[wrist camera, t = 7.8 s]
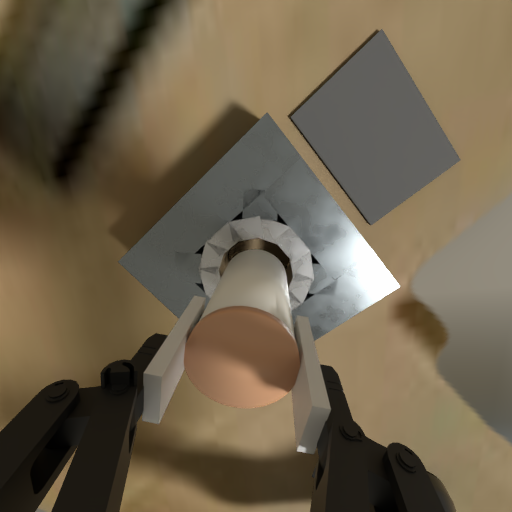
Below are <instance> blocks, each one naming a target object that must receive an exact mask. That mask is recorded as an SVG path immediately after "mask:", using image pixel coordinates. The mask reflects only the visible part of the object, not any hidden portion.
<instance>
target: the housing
mask: <svg viewBox="0 0 512 512" xmlns="http://www.w3.org/2000/svg"><path fill="white" fill-rule="evenodd" d="M241 211H243V212H242V213H240V212H241ZM254 238H260V239H263V240H266V241H269V242H272V243H275V244H277V245H278V246H279V247H280V248H281V249H282V250H283V251H284V253H285V254H286V255H287V256H288V257H289V259H290V261H289V263H288V265H287V268H286V270H285V271H286V276H287V284H288V291H289V298H290V306H291V313H292V320H293V327H294V324H295V320H296V317H297V315H299V316H304V317H308V319H309V323H310V327H311V331H312V335H313V339H314V341H315V340H317V339H318V338H320V337H321V336H323V335H325V334H326V333H328V332H329V331H331V330H332V329H334V328H336V327H337V326H339V325H340V324H342V323H344V322H345V321H347V320H348V319H350V318H351V317H353V316H355V315H356V314H358V313H359V312H361V311H363V310H364V309H366V308H367V307H369V306H370V305H372V304H374V303H375V302H377V301H378V300H380V299H382V298H383V297H385V296H386V295H388V294H390V293H391V292H393V291H394V290H396V289H397V288H399V287H400V285H399V284H398V283H397V282H396V280H395V279H394V278H393V276H392V275H391V274H390V272H389V271H388V270H387V268H386V267H385V266H384V265H383V263H382V262H381V261H380V259H379V258H378V257H377V255H376V254H375V253H374V251H373V250H372V249H371V247H370V246H369V245H368V244H367V242H366V241H365V240H364V238H363V237H362V236H361V234H360V233H359V232H358V230H357V229H356V228H355V227H354V225H353V224H352V223H351V221H350V220H349V219H348V217H347V216H346V215H345V213H344V212H343V211H342V210H341V208H340V207H339V206H338V204H337V203H336V202H335V200H334V199H333V198H332V196H331V195H330V194H329V192H328V191H327V190H326V189H325V187H324V186H323V185H322V183H321V182H320V181H319V179H318V178H317V177H316V175H315V174H314V173H313V172H312V170H311V169H310V168H309V166H308V165H307V164H306V162H305V161H304V160H303V158H302V157H301V156H300V155H299V153H298V152H297V151H296V149H295V148H294V147H293V145H292V144H291V143H290V141H289V140H288V139H287V138H286V136H285V135H284V134H283V132H282V131H281V130H280V128H279V127H278V126H277V124H276V123H275V122H274V120H273V119H272V118H271V117H270V115H269V114H268V113H266V114H265V115H264V116H263V117H262V118H261V119H260V120H259V121H258V122H257V123H256V124H255V125H254V126H253V127H252V128H251V129H250V130H249V131H248V132H247V133H246V134H245V135H244V136H243V137H242V138H241V139H240V140H239V141H238V142H237V143H236V144H235V145H234V146H233V147H232V148H231V149H230V150H229V151H228V152H227V153H226V154H225V155H224V156H223V157H222V158H221V159H220V160H219V161H218V162H217V163H216V164H215V165H214V166H213V167H212V168H211V169H210V170H209V171H208V172H207V173H206V174H205V175H204V176H203V177H202V178H201V179H200V180H199V181H198V182H197V183H196V184H195V185H194V186H193V187H192V188H191V189H190V190H189V191H188V192H187V193H186V194H185V195H184V196H183V197H182V198H181V199H180V200H179V201H178V202H177V203H176V204H175V205H174V206H173V207H172V208H171V209H170V210H169V211H168V212H167V213H166V214H165V215H164V216H163V217H162V218H161V219H160V220H159V221H158V222H157V223H156V224H155V225H154V226H153V227H152V228H151V229H150V230H149V231H148V232H147V233H146V234H145V235H144V236H143V237H142V238H141V239H140V240H139V241H138V242H137V243H136V244H135V245H134V246H133V247H132V248H131V249H130V250H129V251H128V252H127V253H126V254H125V255H124V256H123V257H122V258H121V259H120V260H119V261H118V262H119V263H120V264H121V265H122V266H123V267H124V268H125V269H126V270H127V271H128V272H129V273H130V274H131V275H133V276H134V277H135V278H136V279H137V280H138V281H139V282H140V283H141V284H142V285H143V286H144V287H145V288H147V289H148V290H149V291H150V292H151V293H152V294H153V295H154V296H155V297H156V298H157V299H158V300H159V301H161V302H162V303H163V304H164V305H165V306H166V307H167V308H168V309H169V310H170V311H171V312H172V313H173V314H174V315H176V316H177V317H178V318H180V317H181V315H182V314H183V312H184V311H185V309H186V308H187V306H188V305H189V303H190V302H191V300H192V299H193V297H194V296H199V297H205V298H206V299H205V308H204V310H205V309H206V307H207V305H208V303H209V301H210V299H211V297H212V295H213V293H214V291H215V289H216V287H217V285H218V283H219V281H220V279H221V277H222V275H223V273H224V271H225V269H226V267H227V265H228V263H229V258H228V252H229V249H230V248H231V247H232V246H233V245H235V244H236V243H237V242H238V241H243V240H249V239H254Z"/></svg>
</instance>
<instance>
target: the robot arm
mask: <svg viewBox="0 0 512 512" xmlns="http://www.w3.org/2000/svg"><path fill="white" fill-rule="evenodd" d="M205 299H206V298H205V297H199V296H194V297H193V299H192V300H191V302H190V303H189V305H188V306H187V308H186V309H185V311H184V312H183V314H182V315H181V317H180V318H179V320H178V321H177V323H176V324H175V326H174V327H173V329H172V330H171V332H170V334H169V335H168V336H167V335H162V334H157V333H156V334H154V335H153V336H151V337H149V338H148V339H147V340H146V341H145V343H144V344H143V345H142V347H141V348H140V349H139V350H138V352H137V353H136V354H135V356H134V357H133V358H132V359H131V360H119V361H115V362H113V363H110V364H109V365H108V366H106V367H105V368H104V369H103V370H102V372H101V386H98V387H90V388H79V385H78V383H77V382H76V381H73V380H61V381H57V382H54V383H52V384H50V385H48V386H46V387H45V388H44V389H43V390H41V391H40V392H39V393H38V394H37V395H36V396H35V397H34V398H33V399H32V400H31V401H30V402H29V403H28V404H27V405H26V406H25V407H24V408H23V409H22V410H21V411H20V412H19V413H18V414H17V415H16V417H15V418H14V419H13V420H12V421H11V422H10V423H9V424H8V425H7V426H6V427H5V428H4V429H3V430H2V431H1V432H0V512H35V511H36V510H37V508H38V506H39V505H40V503H41V502H42V500H43V499H44V497H45V496H46V494H47V493H48V491H49V490H50V488H51V486H52V485H53V483H54V482H55V480H56V479H57V477H58V476H59V474H60V473H61V471H62V470H63V468H64V466H65V465H66V463H67V462H68V460H69V459H70V457H71V456H72V454H73V453H74V451H75V449H76V448H77V446H78V448H77V450H76V453H75V455H74V457H73V460H72V462H71V465H70V467H69V470H68V472H67V475H66V477H65V480H64V482H63V485H62V487H61V489H60V492H59V494H58V497H57V499H56V502H55V504H54V507H53V509H52V512H119V511H120V506H121V501H122V496H123V492H124V487H125V482H126V478H127V473H128V468H129V463H130V459H131V454H132V449H133V445H134V440H135V435H136V430H137V421H138V420H139V418H140V416H141V414H142V421H146V422H151V423H156V424H159V423H160V421H161V419H162V417H163V415H164V412H165V410H166V408H167V406H168V404H169V402H170V399H171V397H172V395H173V393H174V391H175V388H176V386H177V384H178V382H179V380H180V378H181V375H182V373H183V371H184V369H185V367H184V352H185V344H186V342H187V340H188V338H189V336H190V334H191V332H192V330H193V328H194V327H195V325H196V324H197V323H198V322H199V320H200V318H201V316H202V314H203V312H204V308H205ZM294 335H295V339H296V342H297V345H298V351H299V357H300V369H299V372H298V376H297V379H296V382H295V385H294V386H293V388H292V389H291V390H292V401H293V413H294V425H295V436H296V448H297V451H299V452H304V453H309V454H314V453H315V450H316V448H318V454H319V459H318V462H317V464H316V467H315V469H314V472H313V475H312V477H313V478H315V479H314V487H313V494H312V501H311V509H310V512H456V509H455V506H454V504H453V501H452V499H451V497H450V496H449V494H448V492H447V490H446V488H445V487H444V485H443V483H442V482H441V481H440V480H439V479H438V478H436V477H435V476H433V475H432V474H430V473H427V471H426V469H425V467H424V465H423V463H422V462H421V460H420V459H419V457H418V456H417V455H416V454H415V453H414V452H413V451H412V450H410V449H409V448H408V447H406V446H405V445H402V444H400V443H391V444H389V445H388V447H387V448H386V447H384V446H382V445H380V444H378V443H376V442H374V441H372V440H371V439H369V438H367V437H366V436H365V434H364V432H363V431H362V429H361V427H360V426H359V425H358V424H357V423H356V422H354V421H353V419H352V416H351V413H350V410H349V407H348V403H347V400H346V397H345V394H344V392H343V388H342V385H341V382H340V379H339V376H338V374H337V373H336V371H335V370H334V369H333V367H331V366H326V365H321V364H320V363H319V359H318V355H317V351H316V347H315V343H314V339H313V335H312V331H311V327H310V323H309V319H308V317H304V316H299V315H297V317H296V320H295V324H294Z"/></svg>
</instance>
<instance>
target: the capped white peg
mask: <svg viewBox="0 0 512 512" xmlns="http://www.w3.org/2000/svg"><path fill="white" fill-rule="evenodd" d="M184 367H185V370H186V373H187V375H188V377H189V379H190V380H191V382H192V383H193V384H194V386H195V387H196V388H197V389H198V390H199V391H200V392H202V393H203V394H204V395H206V396H207V397H208V398H210V399H212V400H214V401H216V402H218V403H221V404H223V405H227V406H231V407H236V408H257V407H262V406H266V405H269V404H271V403H274V402H276V401H278V400H279V399H281V398H282V397H284V396H285V395H286V394H287V393H288V392H289V391H290V390H291V389H292V388H293V386H294V385H295V382H296V379H297V376H298V372H299V369H300V357H299V351H298V345H297V342H296V339H295V335H294V327H293V320H292V313H291V306H290V298H289V291H288V284H287V276H286V271H285V268H284V266H283V264H282V263H281V261H280V260H279V259H278V258H277V257H276V256H274V255H273V254H271V253H269V252H267V251H264V250H259V249H251V250H246V251H243V252H241V253H239V254H237V255H236V256H234V257H233V258H232V259H231V261H230V262H229V263H228V265H227V267H226V269H225V271H224V273H223V275H222V277H221V279H220V281H219V283H218V285H217V287H216V289H215V291H214V293H213V295H212V297H211V299H210V301H209V303H208V305H207V307H206V309H205V310H204V312H203V314H202V316H201V318H200V320H199V322H198V323H197V324H196V325H195V327H194V328H193V330H192V332H191V334H190V336H189V338H188V340H187V342H186V344H185V352H184Z"/></svg>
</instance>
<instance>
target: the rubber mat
mask: <svg viewBox="0 0 512 512" xmlns="http://www.w3.org/2000/svg"><path fill="white" fill-rule="evenodd" d="M290 118H291V120H292V121H293V122H294V124H295V125H296V126H297V128H298V129H299V130H300V132H301V133H302V134H303V136H304V137H305V138H306V140H307V141H308V142H309V144H310V145H311V146H312V148H313V149H314V150H315V152H316V153H317V154H318V156H319V157H320V158H321V160H322V161H323V162H324V164H325V165H326V167H327V168H328V169H329V171H330V172H331V173H332V175H333V176H334V177H335V179H336V180H337V181H338V183H339V184H340V185H341V187H342V188H343V189H344V191H345V192H346V193H347V195H348V196H349V197H350V199H351V200H352V201H353V203H354V204H355V205H356V207H357V208H358V209H359V211H360V212H361V214H362V215H363V216H364V218H365V219H366V220H367V222H368V223H369V224H370V225H372V224H374V223H375V222H376V221H378V220H379V219H380V218H382V217H383V216H385V215H386V214H387V213H389V212H390V211H391V210H393V209H394V208H396V207H397V206H398V205H400V204H401V203H402V202H404V201H405V200H406V199H408V198H409V197H411V196H412V195H413V194H415V193H416V192H417V191H419V190H420V189H422V188H423V187H424V186H426V185H427V184H428V183H430V182H431V181H432V180H434V179H435V178H437V177H438V176H439V175H441V174H442V173H443V172H445V171H446V170H448V169H449V168H450V167H452V166H453V165H454V164H456V163H457V162H458V161H460V158H459V157H458V155H457V153H456V152H455V150H454V148H453V147H452V145H451V143H450V142H449V140H448V138H447V137H446V135H445V133H444V132H443V130H442V128H441V127H440V125H439V123H438V122H437V120H436V118H435V117H434V115H433V113H432V111H431V110H430V108H429V106H428V105H427V103H426V101H425V100H424V98H423V96H422V95H421V93H420V91H419V90H418V88H417V86H416V85H415V83H414V81H413V80H412V78H411V76H410V75H409V73H408V71H407V70H406V68H405V66H404V65H403V63H402V61H401V60H400V58H399V56H398V55H397V53H396V51H395V50H394V48H393V46H392V45H391V43H390V41H389V40H388V38H387V36H386V35H385V33H384V31H383V30H382V29H381V30H380V31H379V32H378V33H377V34H376V35H375V36H374V37H373V38H372V39H371V40H370V41H369V42H368V43H367V44H366V45H365V46H364V47H363V48H362V49H361V50H360V51H359V52H358V53H356V54H355V55H354V56H353V57H352V58H351V59H350V60H349V61H348V62H347V63H346V64H345V65H344V66H343V67H342V68H341V69H340V70H339V71H338V72H337V73H336V74H335V75H334V76H333V77H332V78H331V79H330V80H328V81H327V82H326V83H325V84H324V85H323V86H322V87H321V88H320V89H319V90H318V91H317V92H316V93H315V94H314V95H313V96H312V97H311V98H310V99H309V100H308V101H307V102H306V103H305V104H304V105H303V106H301V107H300V108H299V109H298V110H297V111H296V112H295V113H294V114H293V115H292V116H291V117H290Z"/></svg>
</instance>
